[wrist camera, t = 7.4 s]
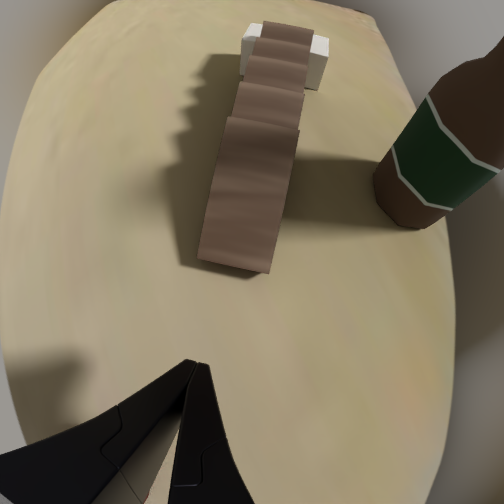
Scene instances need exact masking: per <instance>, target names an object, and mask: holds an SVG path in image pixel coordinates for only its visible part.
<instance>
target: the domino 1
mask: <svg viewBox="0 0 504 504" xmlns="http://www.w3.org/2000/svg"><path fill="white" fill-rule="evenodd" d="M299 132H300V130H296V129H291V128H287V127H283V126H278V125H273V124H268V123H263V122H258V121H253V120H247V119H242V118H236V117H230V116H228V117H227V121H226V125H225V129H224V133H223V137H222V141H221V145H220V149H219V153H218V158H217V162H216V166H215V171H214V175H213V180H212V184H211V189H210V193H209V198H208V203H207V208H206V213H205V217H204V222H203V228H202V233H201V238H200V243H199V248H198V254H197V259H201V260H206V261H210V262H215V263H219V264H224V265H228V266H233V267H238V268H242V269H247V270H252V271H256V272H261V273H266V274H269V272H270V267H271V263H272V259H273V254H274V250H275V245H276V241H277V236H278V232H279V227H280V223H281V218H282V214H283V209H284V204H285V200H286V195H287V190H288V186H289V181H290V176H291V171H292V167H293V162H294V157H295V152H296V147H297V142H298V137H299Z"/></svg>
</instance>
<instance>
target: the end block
mask: <svg viewBox="0 0 504 504" xmlns="http://www.w3.org/2000/svg"><path fill="white" fill-rule="evenodd" d="M262 26H263V25H262V24H255V23H251V25H250V26H249V28H248V30H247V31H246V33H245V35H244V37H243V38H242V43H241V59H240V75H244V74H245V70H246V67H247V63H248V59H249V55H252V53H253V49H254V44H255V40H256V37H260V35H261V30H262ZM328 40H329V38H325V37H322V36H318V35H314V34H313V39H312V44H311V49H310V54H309V60H308V65H307V66H308V72H307V77H306V82H305V87H306V88H310V89H314V90H318V88H319V85H320V82H321V78H322V75H323V72H324V69H325V66H326V63H327V60H328Z"/></svg>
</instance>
